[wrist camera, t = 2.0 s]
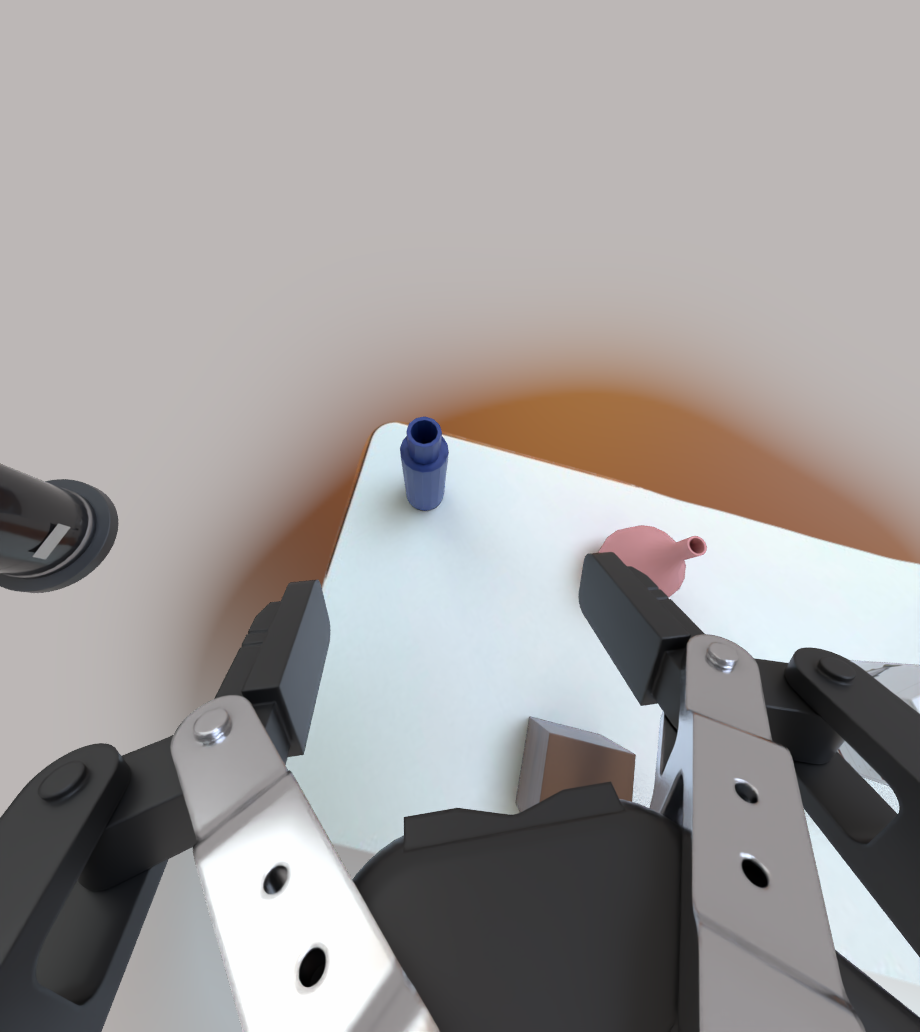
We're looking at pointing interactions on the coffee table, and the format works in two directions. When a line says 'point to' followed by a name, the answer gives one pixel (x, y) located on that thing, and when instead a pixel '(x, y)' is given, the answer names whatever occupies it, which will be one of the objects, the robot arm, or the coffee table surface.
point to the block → (570, 762)
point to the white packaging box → (904, 681)
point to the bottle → (424, 463)
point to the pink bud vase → (655, 554)
